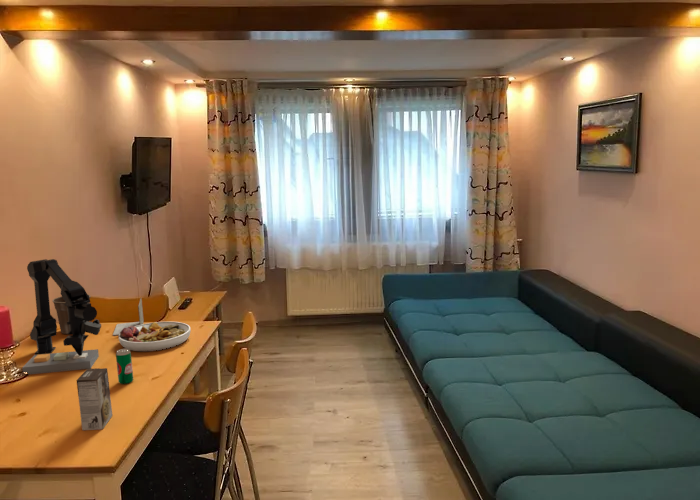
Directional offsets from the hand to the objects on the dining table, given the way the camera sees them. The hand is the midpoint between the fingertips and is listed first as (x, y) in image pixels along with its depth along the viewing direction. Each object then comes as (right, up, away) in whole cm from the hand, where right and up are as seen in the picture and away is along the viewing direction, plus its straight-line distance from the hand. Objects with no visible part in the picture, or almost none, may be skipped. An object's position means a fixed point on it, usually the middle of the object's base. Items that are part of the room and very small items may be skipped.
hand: (80, 355), depth 225 cm
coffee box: (+29, -12, -51) cm, 60 cm away
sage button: (-7, -2, -1) cm, 7 cm away
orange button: (-14, -3, -2) cm, 14 cm away
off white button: (0, -3, +1) cm, 3 cm away
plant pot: (-23, +3, +44) cm, 50 cm away
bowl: (+21, +1, +25) cm, 33 cm away
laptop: (+2, +4, +45) cm, 45 cm away
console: (-7, -4, -1) cm, 8 cm away
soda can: (+26, -6, -19) cm, 33 cm away
